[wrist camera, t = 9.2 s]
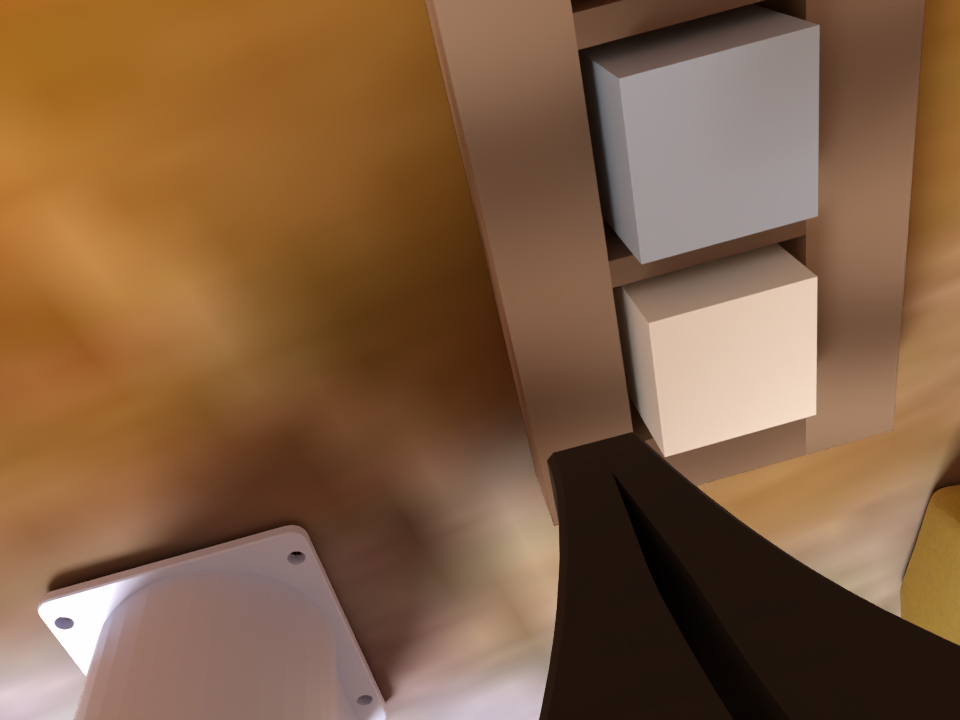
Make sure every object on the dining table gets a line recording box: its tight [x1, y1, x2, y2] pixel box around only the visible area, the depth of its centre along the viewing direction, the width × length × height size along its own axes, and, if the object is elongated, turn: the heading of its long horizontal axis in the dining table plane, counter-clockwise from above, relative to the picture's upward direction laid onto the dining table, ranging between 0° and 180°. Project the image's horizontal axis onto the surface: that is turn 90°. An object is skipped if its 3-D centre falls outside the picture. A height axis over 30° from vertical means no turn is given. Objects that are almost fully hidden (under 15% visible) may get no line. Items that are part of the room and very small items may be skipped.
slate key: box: [578, 4, 820, 264], centre depth 18 cm, size 4×4×3 cm
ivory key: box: [612, 243, 817, 457], centre depth 21 cm, size 4×4×3 cm
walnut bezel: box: [425, 0, 925, 526], centre depth 19 cm, size 20×10×2 cm, turn 12°
